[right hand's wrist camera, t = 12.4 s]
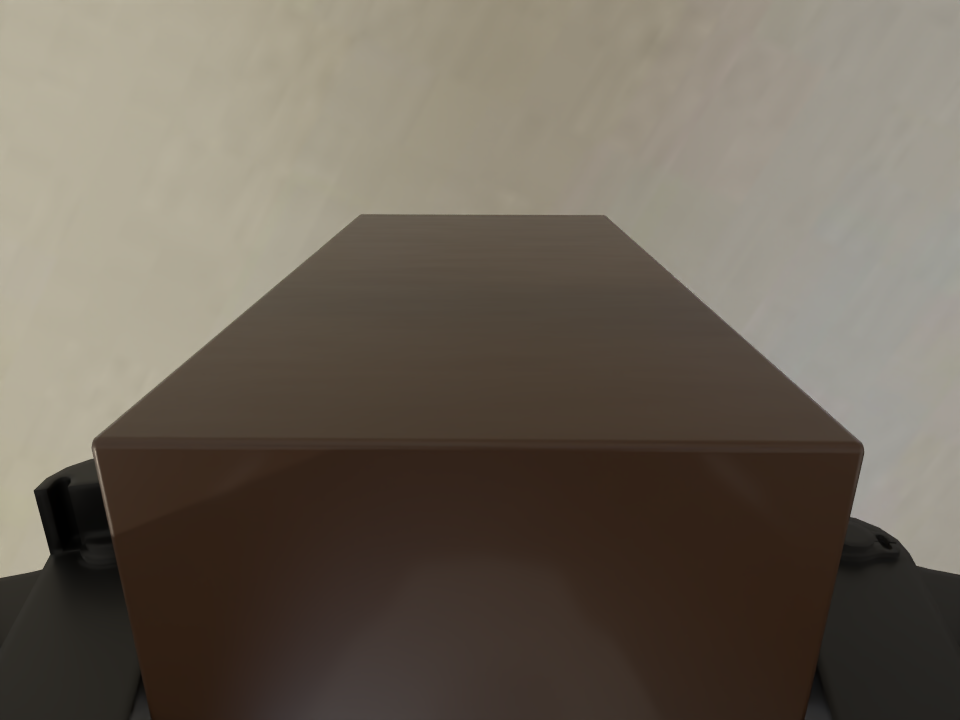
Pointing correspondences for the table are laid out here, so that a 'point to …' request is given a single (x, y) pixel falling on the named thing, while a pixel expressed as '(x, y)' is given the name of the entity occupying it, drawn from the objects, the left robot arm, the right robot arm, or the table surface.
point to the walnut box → (478, 492)
